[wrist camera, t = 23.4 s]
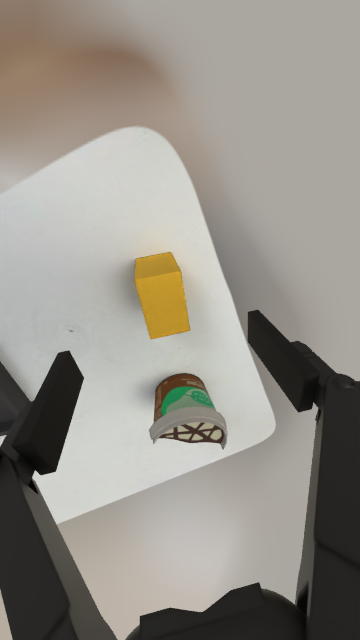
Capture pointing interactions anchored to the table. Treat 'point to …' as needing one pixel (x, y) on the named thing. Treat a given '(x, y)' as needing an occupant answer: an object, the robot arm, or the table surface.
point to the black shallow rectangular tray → (9, 401)
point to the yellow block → (161, 295)
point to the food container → (186, 412)
